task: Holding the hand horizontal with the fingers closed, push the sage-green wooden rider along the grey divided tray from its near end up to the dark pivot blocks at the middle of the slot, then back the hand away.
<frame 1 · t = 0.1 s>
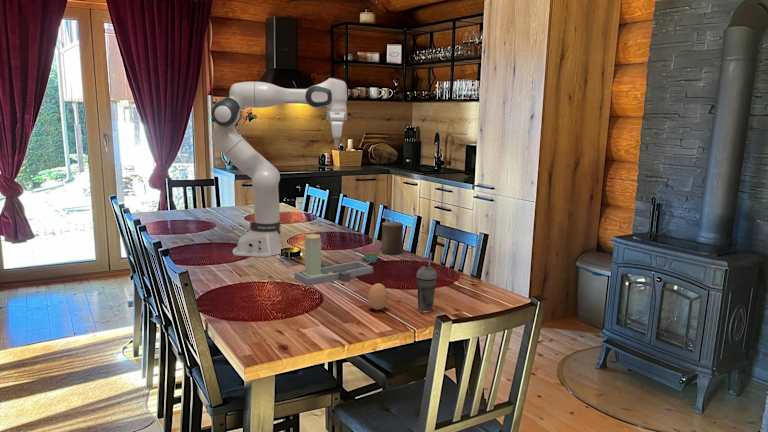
hand: (336, 147, 254), 48 cm above the table, tool pointing down, fingers open, 8 cm apart
grey divided tray: (334, 275, 228), on the table
egg: (377, 310, 192), on the table
beverage cup: (425, 310, 193), on the table
rider: (312, 257, 220), point 9 cm above the table, slide at -10.0 cm
pillar candle: (391, 252, 266), on the table
cupcake: (370, 260, 251), on the table
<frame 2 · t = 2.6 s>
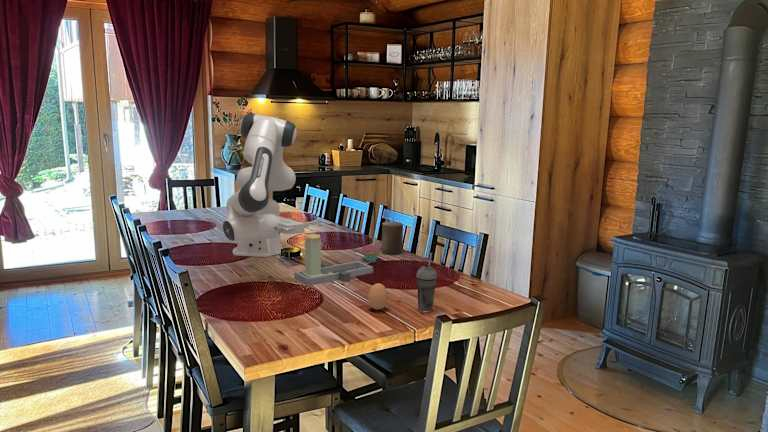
hand: (301, 222, 214), 23 cm above the table, tool horizontal, fingers open, 8 cm apart
nothing on the table moved.
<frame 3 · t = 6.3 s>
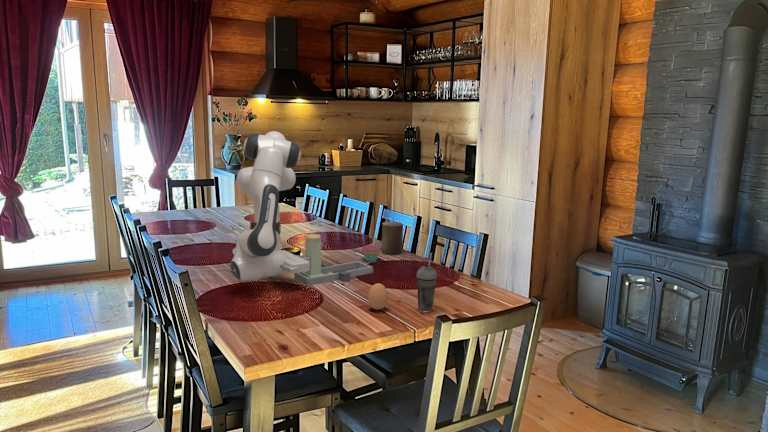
hand: (307, 258, 219), 9 cm above the table, tool horizontal, fingers closed, pressing on rider
rider: (313, 257, 220), point 9 cm above the table, slide at -9.9 cm, touching gripper
everything else where it was.
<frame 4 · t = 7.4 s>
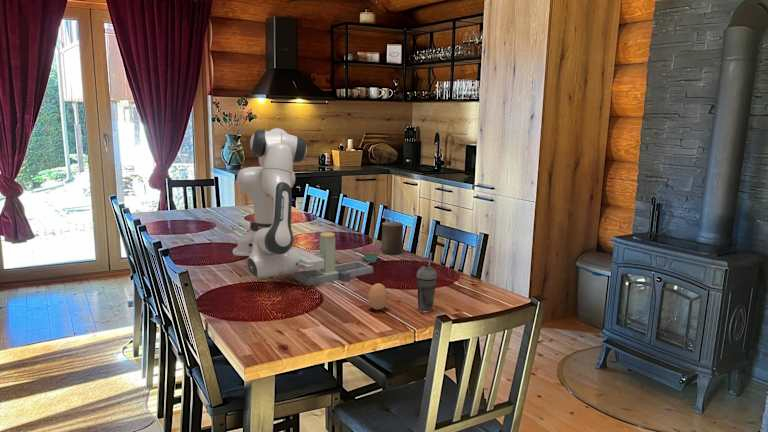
hand: (322, 256, 223), 9 cm above the table, tool horizontal, fingers closed, pressing on rider
rider: (327, 255, 224), point 9 cm above the table, slide at -3.5 cm, touching gripper
everything else where it was.
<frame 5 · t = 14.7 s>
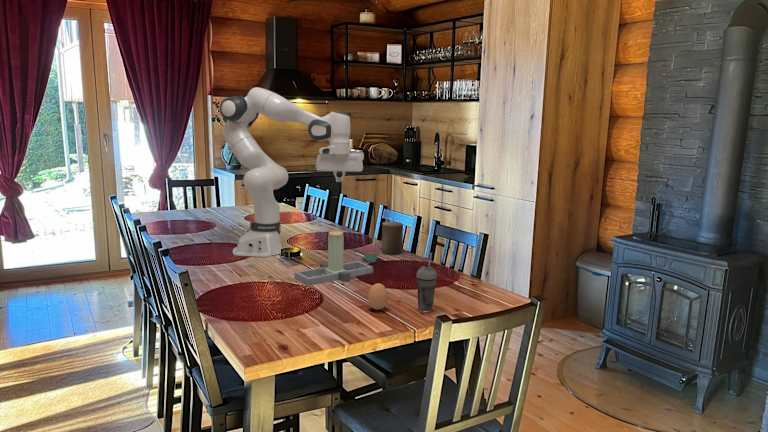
hand: (339, 181, 247), 34 cm above the table, tool pointing down, fingers closed
rider: (335, 253, 226), point 9 cm above the table, slide at 0.4 cm
everything else where it was.
at the end: rider slide at 0.4 cm; the gripper is holding nothing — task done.
